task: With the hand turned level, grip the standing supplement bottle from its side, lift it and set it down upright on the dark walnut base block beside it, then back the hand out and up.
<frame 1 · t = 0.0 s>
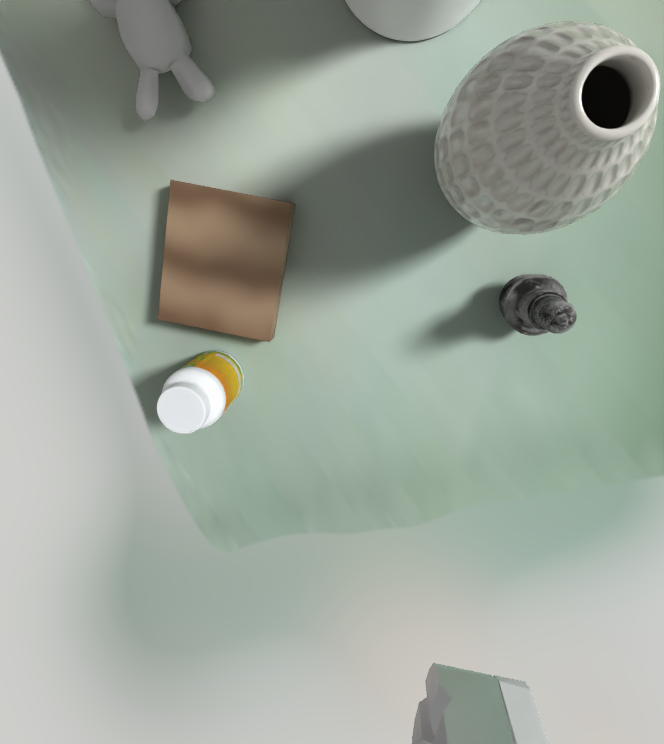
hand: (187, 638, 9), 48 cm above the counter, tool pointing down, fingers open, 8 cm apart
salt shaker: (525, 300, 54), on the counter
bunny figurine: (164, 34, 50), on the counter
supplement bottle: (217, 375, 59), on the counter
walnut base: (228, 261, 55), on the counter
vase: (488, 164, 51), on the counter
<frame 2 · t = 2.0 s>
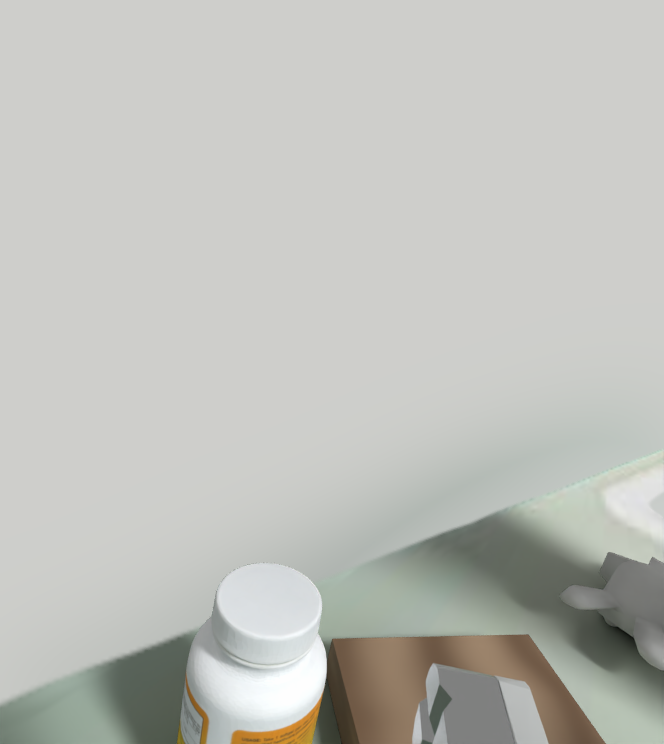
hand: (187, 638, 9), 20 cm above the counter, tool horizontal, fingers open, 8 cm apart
bunny figurine: (635, 630, 43), on the counter
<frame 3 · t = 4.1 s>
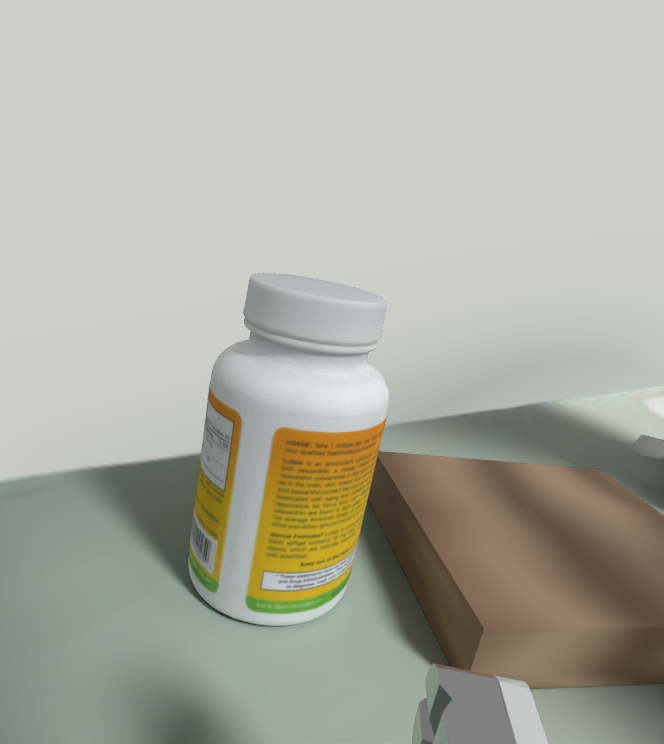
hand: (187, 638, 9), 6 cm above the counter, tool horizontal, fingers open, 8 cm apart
supplement bottle: (267, 575, 21), on the counter
walnut base: (543, 570, 24), on the counter
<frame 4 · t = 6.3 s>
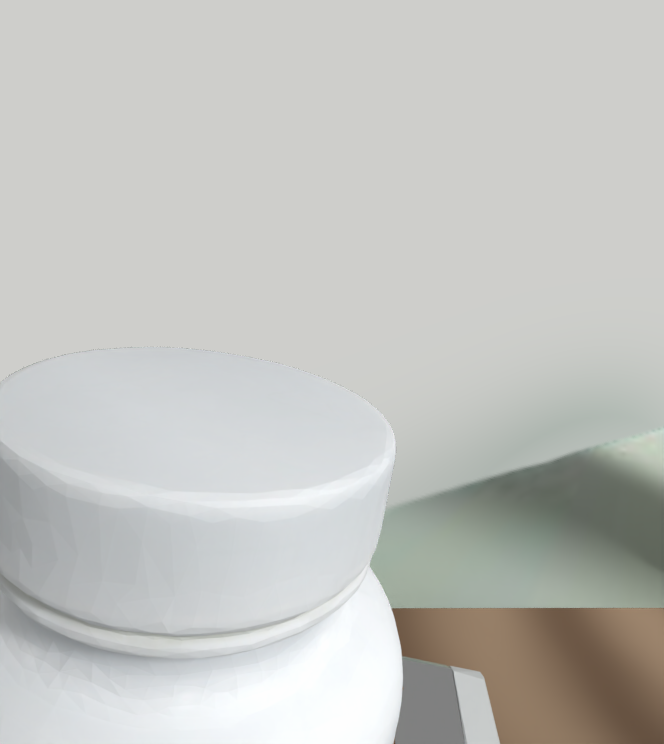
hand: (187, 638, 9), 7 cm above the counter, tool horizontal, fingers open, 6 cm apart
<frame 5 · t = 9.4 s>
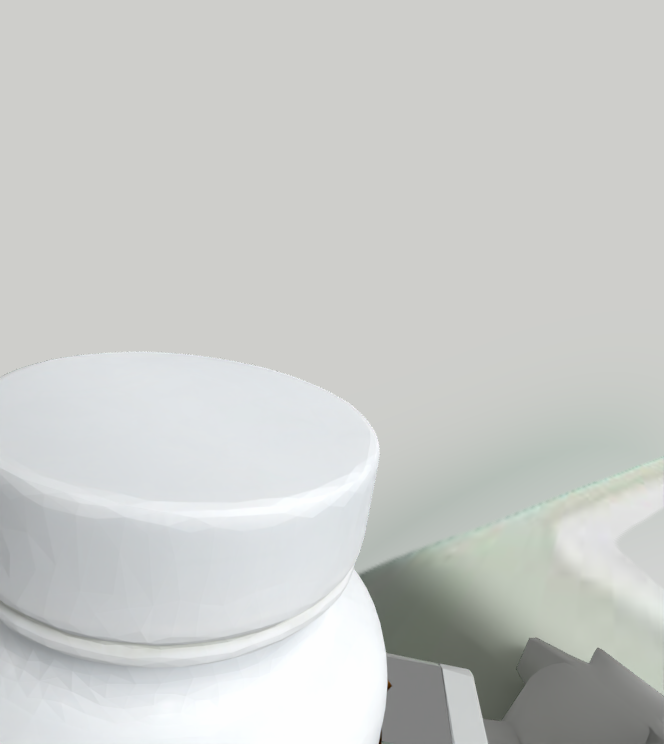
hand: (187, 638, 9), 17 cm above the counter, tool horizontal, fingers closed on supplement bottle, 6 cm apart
when the fingers open (10 cm above the counter, at t = 11.4 s): supplement bottle drops 1 cm, resting on walnut base.
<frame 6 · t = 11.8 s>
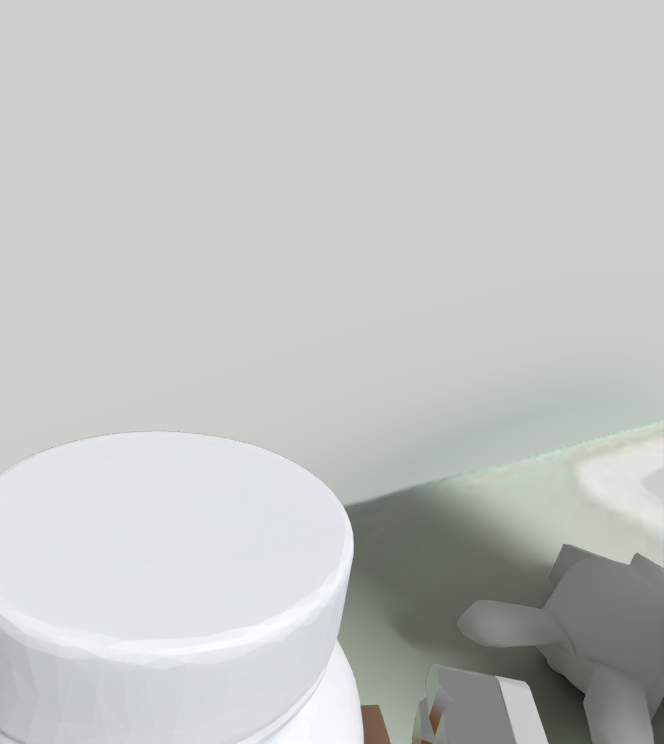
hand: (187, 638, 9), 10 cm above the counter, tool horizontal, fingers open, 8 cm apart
bunny figurine: (602, 681, 24), on the counter
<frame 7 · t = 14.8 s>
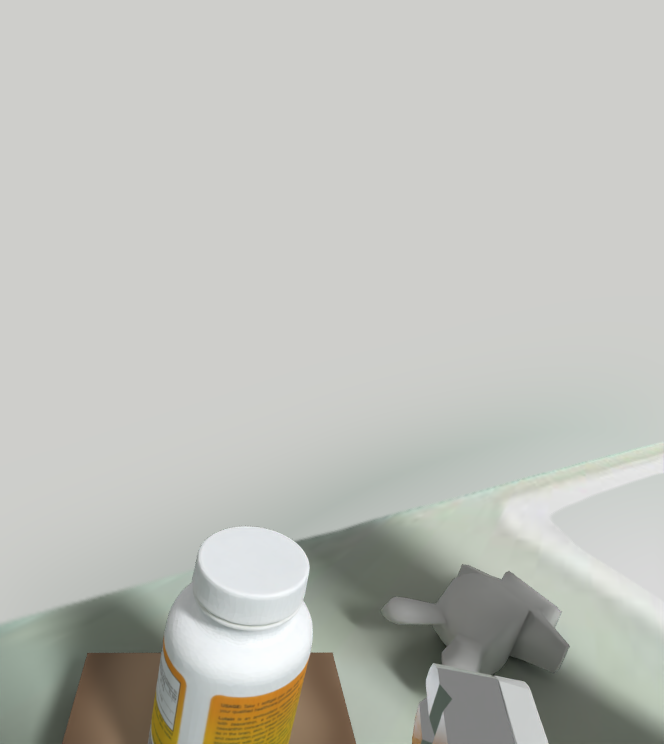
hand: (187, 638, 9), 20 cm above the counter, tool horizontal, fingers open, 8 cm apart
bunny figurine: (474, 650, 39), on the counter
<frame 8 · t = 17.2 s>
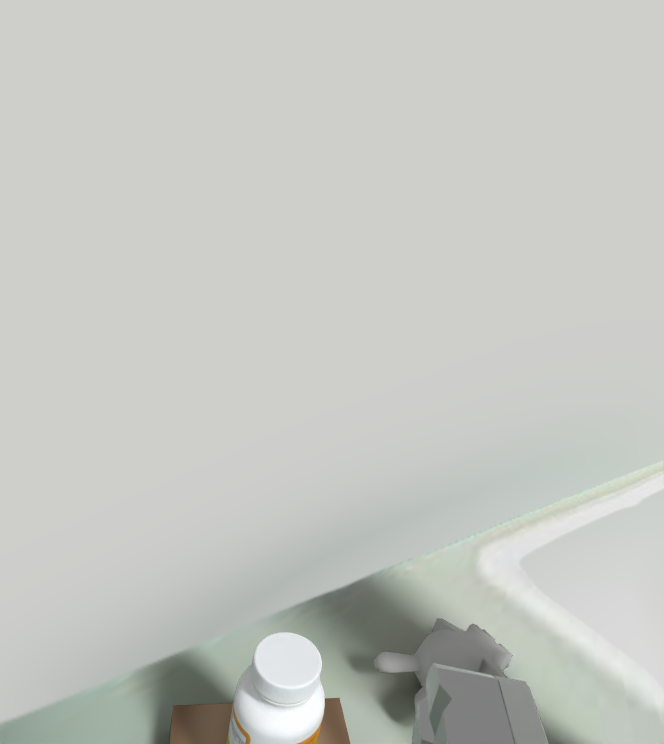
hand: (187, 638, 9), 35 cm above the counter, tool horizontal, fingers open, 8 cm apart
bunny figurine: (444, 687, 52), on the counter
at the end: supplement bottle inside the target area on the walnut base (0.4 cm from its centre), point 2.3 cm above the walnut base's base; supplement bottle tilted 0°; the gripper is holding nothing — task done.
